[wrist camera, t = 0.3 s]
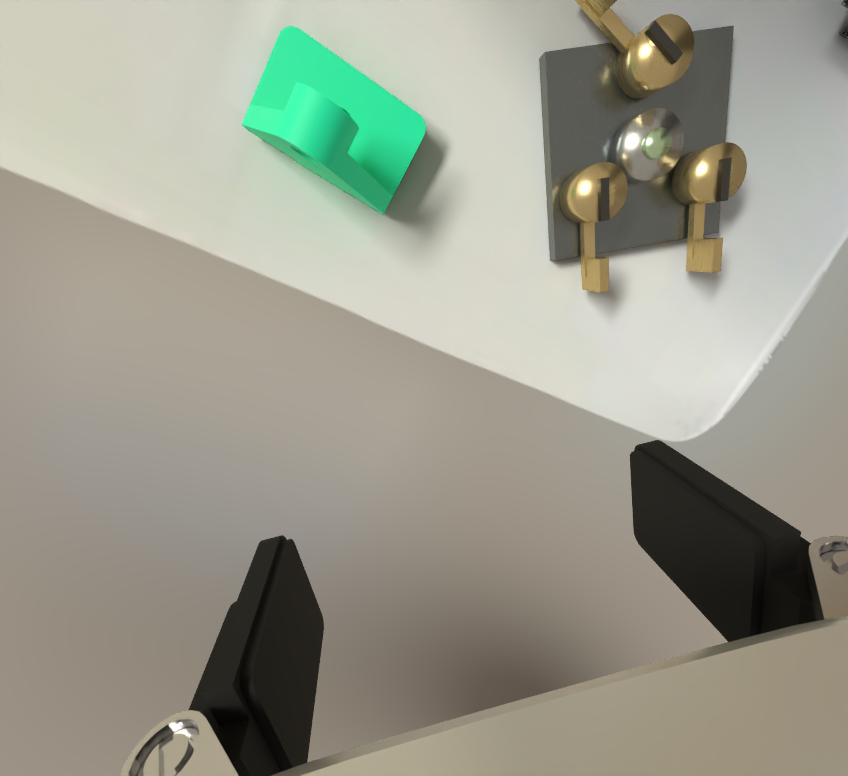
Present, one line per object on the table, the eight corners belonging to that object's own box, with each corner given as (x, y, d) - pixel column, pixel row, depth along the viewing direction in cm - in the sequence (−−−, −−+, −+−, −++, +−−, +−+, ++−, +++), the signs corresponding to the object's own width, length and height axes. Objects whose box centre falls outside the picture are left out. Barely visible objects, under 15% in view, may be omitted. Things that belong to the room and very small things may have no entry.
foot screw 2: (677, 61, 34) (710, 41, 31) (641, 111, 35) (669, 96, 32) (592, -40, 31) (618, -74, 28) (554, 16, 32) (575, -10, 29)
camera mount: (426, 131, 35) (447, 86, 25) (383, 215, 37) (387, 204, 27) (292, 36, 32) (257, -57, 22) (251, 133, 33) (202, 86, 24)
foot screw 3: (672, 154, 36) (703, 145, 33) (720, 147, 37) (754, 137, 33) (668, 273, 40) (695, 276, 36) (711, 266, 40) (742, 267, 37)
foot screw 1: (558, 172, 36) (578, 165, 32) (607, 165, 36) (631, 156, 33) (564, 292, 39) (581, 296, 36) (608, 284, 39) (630, 287, 36)
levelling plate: (539, 58, 34) (559, 36, 30) (721, 32, 35) (761, 8, 32) (550, 260, 39) (568, 261, 36) (708, 232, 40) (741, 231, 37)
